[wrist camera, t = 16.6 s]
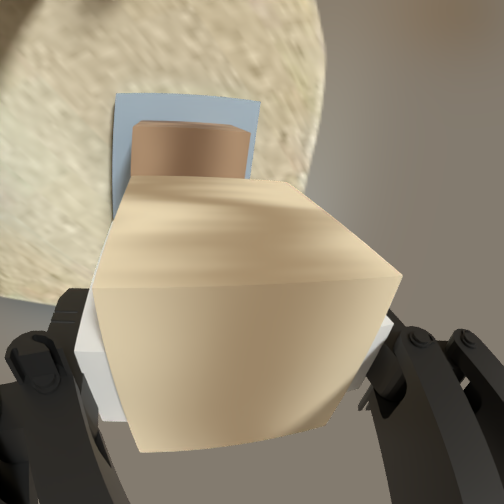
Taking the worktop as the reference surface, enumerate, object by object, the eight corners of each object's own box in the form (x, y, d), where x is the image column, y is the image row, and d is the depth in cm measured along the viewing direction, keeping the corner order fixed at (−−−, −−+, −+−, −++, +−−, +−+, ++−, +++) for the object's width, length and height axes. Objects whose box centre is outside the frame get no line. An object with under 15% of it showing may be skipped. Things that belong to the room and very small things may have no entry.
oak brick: (137, 308, 13) (139, 452, 7) (131, 175, 10) (91, 288, 4) (264, 303, 15) (325, 425, 9) (286, 182, 12) (402, 275, 6)
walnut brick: (138, 205, 27) (131, 237, 21) (141, 120, 23) (132, 126, 17) (220, 206, 29) (236, 237, 23) (230, 124, 26) (250, 132, 20)
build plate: (116, 224, 28) (114, 230, 27) (118, 93, 23) (116, 93, 21) (239, 224, 32) (242, 230, 31) (255, 101, 26) (260, 101, 25)
